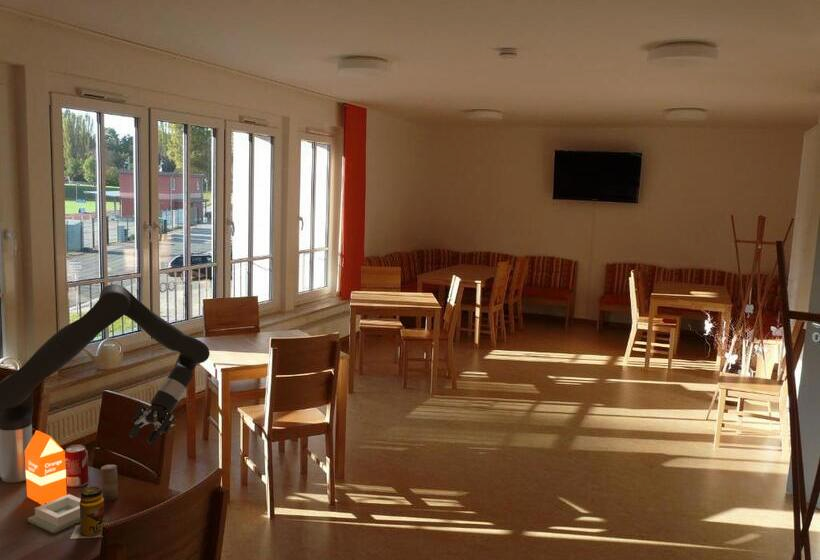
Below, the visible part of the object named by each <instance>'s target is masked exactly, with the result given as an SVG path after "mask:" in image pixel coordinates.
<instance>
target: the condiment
mask: <svg viewBox="0 0 820 560" xmlns="http://www.w3.org/2000/svg"><path fill="white" fill-rule="evenodd" d="M80 499H81V501H80V522H79V523H80V524H77V525H75V526H74V528H73V531H72V534H71V535H70V538H69V539H70V540H75V539H91V538H92V539H93V538H100V537H101V527H102V526H104V525H105V501H104V499H103V497H102V489H101V487H98V486H89V487H86V488H84V489H82V491H81V492H80ZM107 523H108V522H106V524H107ZM101 538H102V537H101Z"/></svg>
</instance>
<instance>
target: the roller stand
mask: <svg viewBox="0 0 820 560" xmlns="http://www.w3.org/2000/svg"><path fill="white" fill-rule="evenodd" d="M80 501H81V497H77V496H75V495H72V494H70V493H68V494H67V495H66V496H63V497H61V498H58V499H56V500H53V501H51V502H48V503H46V504H43V505H41V504H40V505H39V506H36V507H34V515H32V516H29V517H28V518H27V522H28V523H30V524H33V525H34V524H35V525H34V526H37V527H39V528H41V529H43V530H46V531H48V532H50V533H53V534H55V533H58V532H60V531H62V530H64V529H66V528H69V527H71V526H74V525H75V523H76V524H77V523H80Z"/></svg>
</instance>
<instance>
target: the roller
mask: <svg viewBox="0 0 820 560" xmlns="http://www.w3.org/2000/svg"><path fill="white" fill-rule="evenodd" d="M100 483H101V485H100V486H101V487H100V488H101V490H102V497H103V499H104V500H105V501H106V502H108V501H107V500H111V501H115V500H116V499H118V497H119V490H118V489H119V488H118V485H119V483H118V465H116V464H105V465H103V466H101V468H100ZM105 501H104V502H105Z"/></svg>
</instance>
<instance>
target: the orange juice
mask: <svg viewBox="0 0 820 560" xmlns="http://www.w3.org/2000/svg"><path fill="white" fill-rule="evenodd" d="M24 452H25V466H26V480H25V481H26V496H27V498H29V499H31V500H32V501H34V502H36V503H37V502H38V503H37V504H40V506H41V505H43V504H45V503H48V502H51V501H53V500H56V499H58V498H61V497H63V496H66V495H68V494H67V486H66V469H65V452H66V449H65V450H64V449H63V447H61V446H60V444H58V443H57V442H56V440H55V439H54V438H53V437H52V436H51V435H49V434H46V433H44V432H42V431H41V430H40V431H39V430H37V429H36V430H35V432H34V434H32V439H31V440H30V442H29V444H28V446H27V448H26V449H25V451H24Z"/></svg>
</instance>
